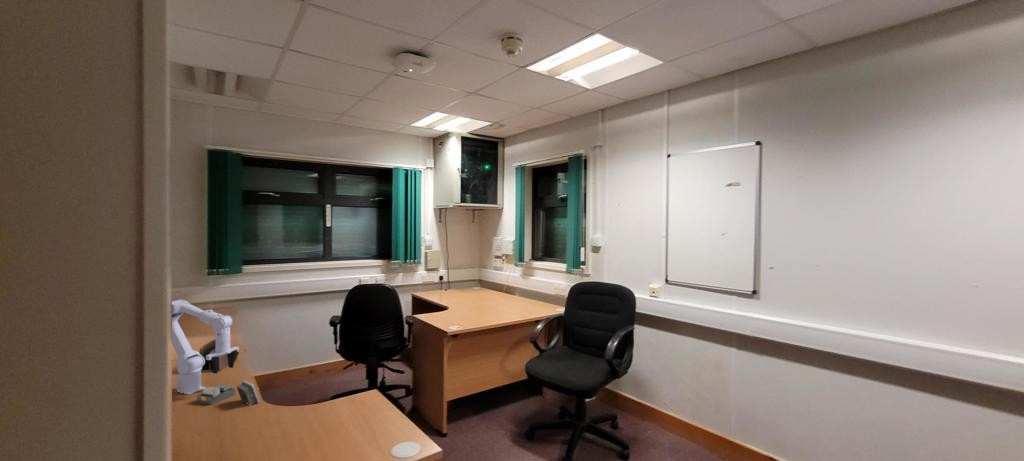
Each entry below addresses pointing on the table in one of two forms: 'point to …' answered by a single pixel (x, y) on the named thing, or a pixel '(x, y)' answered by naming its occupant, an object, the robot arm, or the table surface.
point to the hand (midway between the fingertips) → (223, 370)
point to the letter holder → (223, 360)
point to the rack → (224, 393)
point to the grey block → (211, 391)
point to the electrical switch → (248, 393)
